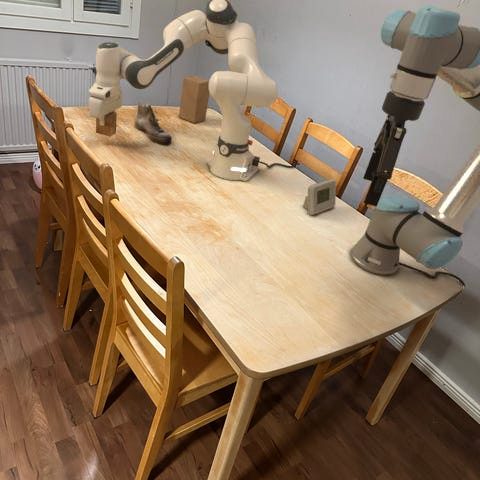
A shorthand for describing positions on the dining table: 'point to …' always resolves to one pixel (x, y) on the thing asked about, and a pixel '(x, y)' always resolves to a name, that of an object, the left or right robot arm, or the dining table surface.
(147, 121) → the shoe
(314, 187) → the digital clock
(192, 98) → the wooden block
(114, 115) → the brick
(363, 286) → the dining table surface
